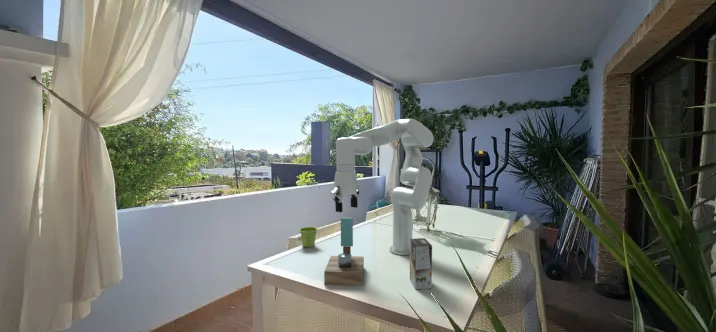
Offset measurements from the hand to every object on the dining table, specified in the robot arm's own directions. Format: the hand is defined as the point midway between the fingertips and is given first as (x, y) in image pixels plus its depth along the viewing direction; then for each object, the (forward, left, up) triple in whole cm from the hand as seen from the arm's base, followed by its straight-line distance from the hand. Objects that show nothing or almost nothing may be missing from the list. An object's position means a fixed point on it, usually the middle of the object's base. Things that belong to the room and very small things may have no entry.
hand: (346, 209), depth 126 cm
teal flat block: (0, -1, -10) cm, 10 cm away
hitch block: (0, +5, -26) cm, 26 cm away
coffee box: (-29, +10, -26) cm, 40 cm away
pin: (0, +7, -25) cm, 26 cm away
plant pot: (+23, -30, -26) cm, 46 cm away
